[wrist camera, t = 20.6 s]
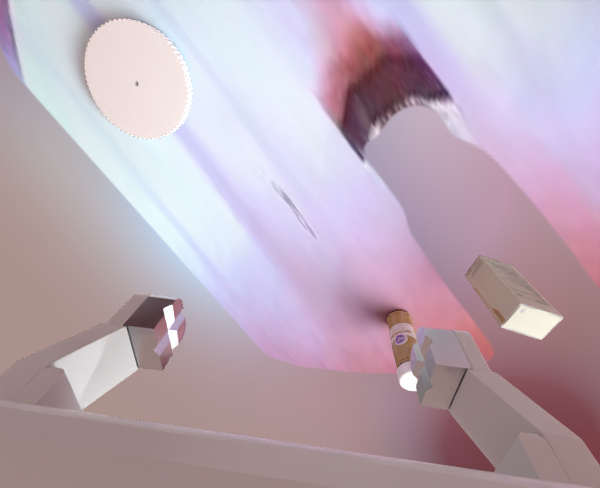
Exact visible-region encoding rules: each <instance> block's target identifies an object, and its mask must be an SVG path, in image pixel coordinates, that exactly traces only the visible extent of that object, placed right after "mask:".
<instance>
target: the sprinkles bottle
mask: <svg viewBox="0 0 600 488" xmlns="http://www.w3.org/2000/svg"><path fill="white" fill-rule="evenodd" d="M387 324H388V327H389V334H390V339H391V344H392V349H393V353H394V358H395V361H396V365H397V377H398V381H399V384H400V385H401V386H402V387H403V388H404V389H406V390H409V391H417V390H416V384H417V381H418V379H417V378H416V377H415V376H414V375H413V374H412V370H411V364H410V357H411V350H412V347H413V345H414V344H416V343H417V342H418V341H417V337H416V330H415V329H414V326H413V322H412V317H411V315H410V314H409V313H408V312H405V311H401V310H398V311H394V312H392V313H390V314H389V316H388V317H387Z"/></svg>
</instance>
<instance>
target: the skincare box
mask: <svg viewBox="0 0 600 488" xmlns="http://www.w3.org/2000/svg"><path fill="white" fill-rule="evenodd" d="M465 276H466V278H467V279H468V281H469V282H470V283H471V285H472V286H473V288H474V289H475V290H476V292H477V293H478V295H479V296H480V298H481V299H482V300H483V302H484V303H485V305H486V306H487V308H488V309H489V310H490V312H491V313H492V315H493V316H494V318H495V319H496V320H497V322H498V323H499V325H500V326H501V327H503V328H505V329H508V330H511V331H513V332H516V333H520V334H523V335H526V336H529V337H534V338H537V339H540V340H541V339H543V338H544V337H545V336H546V335H547V334H548V333H549V332H550V331H551V330H552V329H553V328H554V327H555V326H556V325H557V324H558V323H559V322H560V321H561V320H562V319H563V317H562V315H561V314H560V313H558V312H557V311H556V309H555V308H554V307H553V306H551V304H550V303H548V301H547V300H545V298H544V297H543V296H542V295H541V294H540V293H539V292H538V291H537V290H536V289H535V288H534V287H533V286H531V284H530V283H529V282H528V281H527V280H526V279H525V278H524V277H523V276H522V275H520V273H519V272H518V271H517V270H515V268H514V267H513V266H510V265H508V264H505V263H502V262H499V261H496V260H493V259H490V258H486V257H483V256H478V258H477V259H476V260H475V262H474V263H473V264H472V266H471V267H470V268H469V270H468V272H467V273H466V275H465Z"/></svg>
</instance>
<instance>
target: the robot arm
mask: <svg viewBox="0 0 600 488" xmlns="http://www.w3.org/2000/svg"><path fill="white" fill-rule="evenodd" d="M182 309H183V304H182V300H181V299H179V298H172V297H166V296H159V295H150V294H143V293H138V294H135V295H134V296H133V297H132V298H131V299H130V300H129V301H128V302H127V303H126V304H125V305H124V306H123V307H122V308H121V309H120V310H119V311H118V312H117V313H116V314H115V315H114V316H113V317H112V318H111V319H110V320H109V321H108V322H107V324H103V323H101V324H99V325H97V326H95V327H92V328H90V329H88V330H85V331H83V332H81V333H79V334H77V335H74V336H72V337H70V338H67V339H65V340H63V341H61V342H58V343H56V344H54V345H52V346H49V347H47V348H45V349H43V350H40V351H38V352H36V353H34V354H31V355H29V356H27V357H25V358H22V359H20V360H18V361H16V362H15V363H14V364H13V365H11V366H10V367H9V368H8V369H7V370H6V371H4V372H3V373H2V374H1V375H0V488H600V466H599V464H598V463H597V461H596V460H595V458H594V457H593V455H592V454H591V452H590V451H589V449H588V448H587V446H586V445H585V444H584V442H583V441H582V439H580V438H579V437H578V436H576V435H575V434H574V433H573V432H572V431H570V430H569V429H568V428H567V427H565V426H564V425H562V424H561V423H560V422H559V421H557V420H556V419H555V418H554V417H552V416H551V415H550V414H549V413H547V412H546V411H545V410H543V409H542V408H541V407H540V406H538V405H537V404H536V403H534V402H533V401H532V400H531V399H529V398H528V397H527V396H526V395H524V394H523V393H522V392H520V391H519V390H518V389H516V388H515V387H514V386H513V385H511V384H510V383H509V382H508V381H506V380H505V379H504V378H502V377H501V376H500V375H499V374H497V373H494V372H491V370H490V369H489V367H488V365H487V363H486V361H485V359H484V357H483V356H482V354H481V352H480V350H479V348H478V346H477V345H476V343H475V341H474V339H473V337H472V335H471V334H470V333H469V332H468V331H459V330H446V329H437V328H428V327H420V328H419V329H418V331H417V334H416V337H417V341H418V342H417V343H416V344H414V345H413V347H412V350H411V357H410V364H411V370H412V374H413V375H414V376H415V377H416V378H417V379H418V381H417V384H416V390H417V394H418V397H419V401H420V405H422V406H428V407H434V408H440V409H446V410H449V412H450V414H451V415H452V416H453V417H454V418H455V420H456V421H457V422H458V423H459V425H460V426H461V427H462V428H463V429H464V431H465V432H466V433H467V434H468V435H469V437H470V438H471V439H472V440H473V441H474V443H475V444H476V445H477V446H478V448H479V449H480V450H481V451H482V452H483V454H484V455H485V456H486V457H487V458H488V460H489V461H490V462H491V463H492V464H493V466H494V467H495V468H496V470H495V472H494V473H493V472H486V471H479V470H473V469H465V468H459V467H452V466H446V465H439V464H432V463H425V462H418V461H412V460H405V459H398V458H391V457H385V456H378V455H371V454H364V453H357V452H350V451H343V450H337V449H330V448H323V447H316V446H309V445H302V444H295V443H289V442H282V441H276V440H269V439H261V438H256V437H249V436H242V435H235V434H229V433H222V432H215V431H208V430H202V429H195V428H187V427H181V426H174V425H168V424H161V423H154V422H148V421H141V420H134V419H127V418H121V417H114V416H107V415H100V414H93V413H86V412H83V411H82V409H84V408H85V407H86V406H88V405H89V404H90V403H92V402H93V401H95V400H96V399H97V398H99V397H100V396H101V395H103V394H104V393H106V392H107V391H109V390H110V389H111V388H113V387H114V386H116V385H117V384H118V383H119V382H121V381H122V380H124V379H125V378H127V377H128V376H129V375H131V374H132V373H133V372H135V371H136V370H137V369H138V368H143V369H153V370H162V371H163V369H164V368H165V366H166V365H167V363H168V361H169V360H170V358H171V357H172V355H173V353H172V348H174V347H175V346H177V345H179V343H180V342H181V340H182V338H183V335H184V332H185V326H186V322H185V317H184V316H183V315H182V314H181V313H180V312H181V310H182Z"/></svg>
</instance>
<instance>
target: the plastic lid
mask: <svg viewBox="0 0 600 488" xmlns="http://www.w3.org/2000/svg"><path fill="white" fill-rule="evenodd" d="M97 29H98V30H95V31H94V32H95V34H92V38H90V39H89V40H90V42H88V43H87V44H88V47H86V50H87V51H86V52H85V54H86V57H84V59H85V62H84V64H85V67H84V70H85V71H86V72H85V75H86V80H87V82H88V83H87V85H88V86H89V88H88V89H89V91H91V96H93V100H94V101H95V102H96V105H98V107H99V110H101V111H102V114H104V115H105V117H106V118H108V119H109V121H110V122H112V124H113V125H116V127H117V128H120V130H121V131H124V132H125V133H129V135H133V136H134V137H136V136H137V138H142V139H144V138H146V139H156V138H160V137H164V136H167V135H169V134H172V132H175V130H178V129H179V128H178V127H181V124H183V123H184V121H186V117H188V113H189V112H190V111H189V109H191V106H190V105H191V104H192V102H191V99H193V97H192V94H193V92H192V89H193V88H192V87H191V84H192V82H191V81H190V79H191V76H189V74H190V72H189V71H188V70H187V69H188V67H187V66H186V65H185V63H186V62H185V61H184V60H183V56H182V55H180V51H179V50H177V47H176V46H174V45H173V42H172V41H169V38H168V37H165V34H163V33H161V31H159V30H156V28H155V27H152V26H151V25H148V24H146V23H143V22H140V21H136V20H132V19H125V18H123V19H120V18H119V19H118V20H116V19H113V21H111V20H110V21H109V23H108V22H105V25H103V24H102V25H101V27H98V28H97Z"/></svg>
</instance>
